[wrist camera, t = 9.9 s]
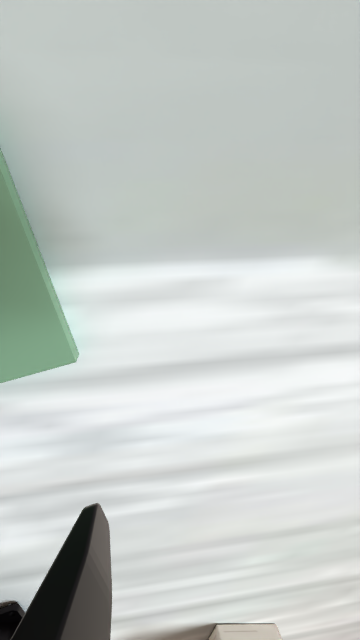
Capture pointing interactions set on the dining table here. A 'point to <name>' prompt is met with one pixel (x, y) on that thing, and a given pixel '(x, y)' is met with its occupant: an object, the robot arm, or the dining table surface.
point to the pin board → (27, 296)
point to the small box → (246, 632)
